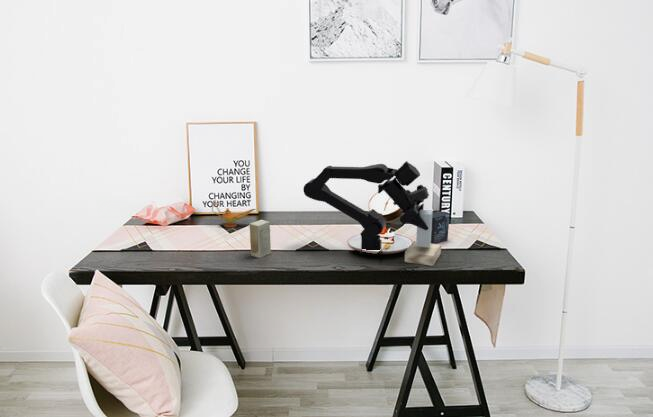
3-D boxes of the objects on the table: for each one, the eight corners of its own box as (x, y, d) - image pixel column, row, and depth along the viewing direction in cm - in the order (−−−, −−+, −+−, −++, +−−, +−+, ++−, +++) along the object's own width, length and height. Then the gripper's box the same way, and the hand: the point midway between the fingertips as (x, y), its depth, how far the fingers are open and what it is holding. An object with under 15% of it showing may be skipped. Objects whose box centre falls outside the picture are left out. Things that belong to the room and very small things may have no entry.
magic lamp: (256, 227, 251) (255, 201, 247) (211, 228, 249) (210, 202, 246) (257, 222, 257) (256, 196, 254) (213, 223, 256) (212, 197, 253)
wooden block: (404, 262, 216) (405, 251, 214) (413, 251, 226) (414, 241, 225) (432, 266, 212) (433, 255, 211) (440, 255, 223) (441, 244, 221)
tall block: (416, 246, 216) (417, 213, 213) (418, 241, 220) (419, 209, 217) (429, 247, 215) (430, 214, 211) (430, 243, 219) (432, 210, 216)
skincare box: (262, 250, 225) (261, 218, 221) (271, 253, 222) (270, 221, 219) (250, 255, 220) (248, 223, 217) (258, 258, 218) (257, 225, 214)
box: (432, 244, 232) (434, 217, 229) (422, 240, 237) (424, 213, 234) (448, 240, 237) (450, 214, 234) (437, 236, 241) (439, 210, 238)
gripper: (411, 186, 203) (443, 221, 204) (419, 173, 220) (448, 205, 221) (386, 206, 208) (417, 241, 208) (396, 192, 225) (425, 224, 225)
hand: (428, 227), depth 215 cm, fingers closed on tall block, 4 cm apart
